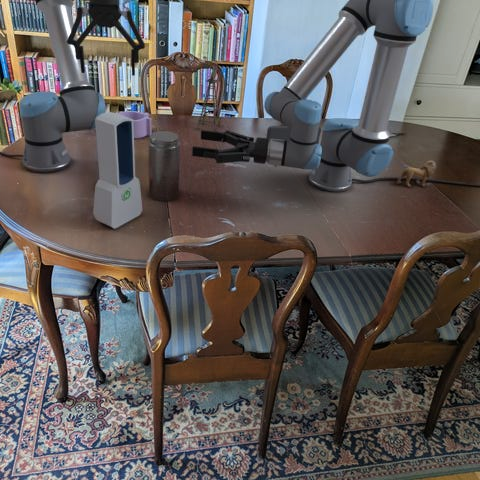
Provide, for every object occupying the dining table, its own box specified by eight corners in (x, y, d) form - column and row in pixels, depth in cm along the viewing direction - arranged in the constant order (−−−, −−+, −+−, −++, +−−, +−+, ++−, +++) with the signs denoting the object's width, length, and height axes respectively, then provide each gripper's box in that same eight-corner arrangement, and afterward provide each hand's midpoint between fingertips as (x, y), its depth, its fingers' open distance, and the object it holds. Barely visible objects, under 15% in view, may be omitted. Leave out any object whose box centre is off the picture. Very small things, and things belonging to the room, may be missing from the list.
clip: (101, 139, 182) (100, 121, 178) (98, 128, 192) (97, 111, 188) (152, 137, 188) (152, 120, 184) (147, 126, 198) (147, 110, 194)
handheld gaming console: (315, 147, 196) (319, 124, 190) (317, 149, 194) (322, 126, 188) (264, 149, 189) (267, 125, 183) (266, 152, 187) (269, 127, 181)
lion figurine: (423, 179, 178) (431, 157, 173) (433, 186, 174) (440, 163, 169) (391, 182, 173) (398, 160, 168) (400, 189, 169) (407, 166, 164)
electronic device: (112, 230, 128) (105, 125, 112) (93, 221, 131) (83, 117, 115) (143, 213, 137) (140, 113, 121) (124, 205, 140) (119, 106, 124)
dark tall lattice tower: (215, 132, 200) (220, 59, 184) (196, 129, 201) (199, 56, 185) (220, 125, 207) (225, 54, 191) (202, 122, 208) (205, 52, 192)
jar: (145, 189, 151) (144, 131, 140) (173, 186, 154) (174, 129, 144) (153, 202, 144) (153, 142, 133) (182, 199, 148) (184, 140, 137)
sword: (401, 132, 223) (402, 129, 222) (407, 134, 221) (407, 131, 220) (358, 143, 207) (358, 140, 206) (363, 145, 205) (364, 143, 204)
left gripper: (49, -16, 114) (59, 74, 125) (153, -7, 118) (154, 78, 130) (54, -19, 120) (63, 67, 131) (152, -10, 125) (153, 72, 136)
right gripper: (263, 181, 129) (188, 171, 130) (268, 147, 150) (203, 139, 151) (266, 155, 125) (189, 145, 126) (271, 125, 146) (204, 117, 147)
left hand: (108, 73), depth 131 cm, fingers open, 13 cm apart
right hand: (196, 142), depth 139 cm, fingers open, 13 cm apart
